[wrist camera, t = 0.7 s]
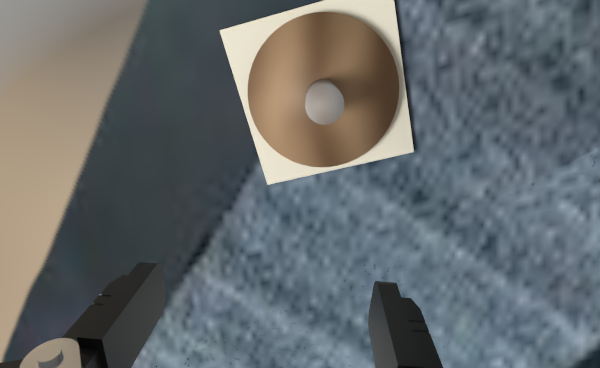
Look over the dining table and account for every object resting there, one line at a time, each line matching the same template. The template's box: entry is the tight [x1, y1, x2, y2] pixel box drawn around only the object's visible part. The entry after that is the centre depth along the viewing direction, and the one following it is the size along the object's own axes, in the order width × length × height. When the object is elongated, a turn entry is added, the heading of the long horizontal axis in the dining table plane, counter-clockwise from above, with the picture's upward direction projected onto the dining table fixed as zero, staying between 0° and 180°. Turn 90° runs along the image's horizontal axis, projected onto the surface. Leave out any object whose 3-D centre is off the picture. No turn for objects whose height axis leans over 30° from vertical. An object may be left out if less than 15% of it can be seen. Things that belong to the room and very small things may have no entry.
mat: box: [220, 0, 414, 185], centre depth 32 cm, size 15×15×1 cm
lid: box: [248, 12, 399, 167], centre depth 29 cm, size 14×14×6 cm
